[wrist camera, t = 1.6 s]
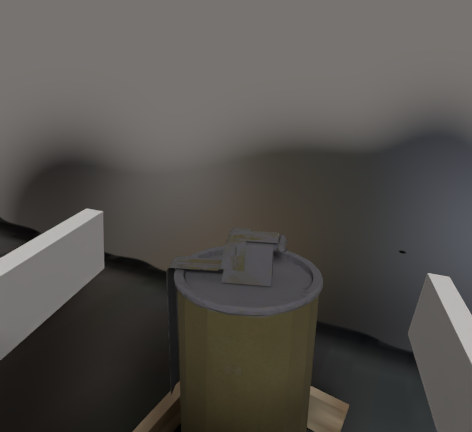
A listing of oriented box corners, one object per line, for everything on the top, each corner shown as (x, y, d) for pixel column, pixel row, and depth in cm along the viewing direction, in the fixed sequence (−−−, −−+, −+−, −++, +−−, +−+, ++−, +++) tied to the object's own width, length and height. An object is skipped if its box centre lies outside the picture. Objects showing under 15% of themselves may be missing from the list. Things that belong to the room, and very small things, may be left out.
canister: (303, 419, 37) (320, 218, 31) (307, 535, 27) (334, 274, 22) (191, 406, 39) (188, 210, 33) (157, 512, 29) (143, 259, 23)
